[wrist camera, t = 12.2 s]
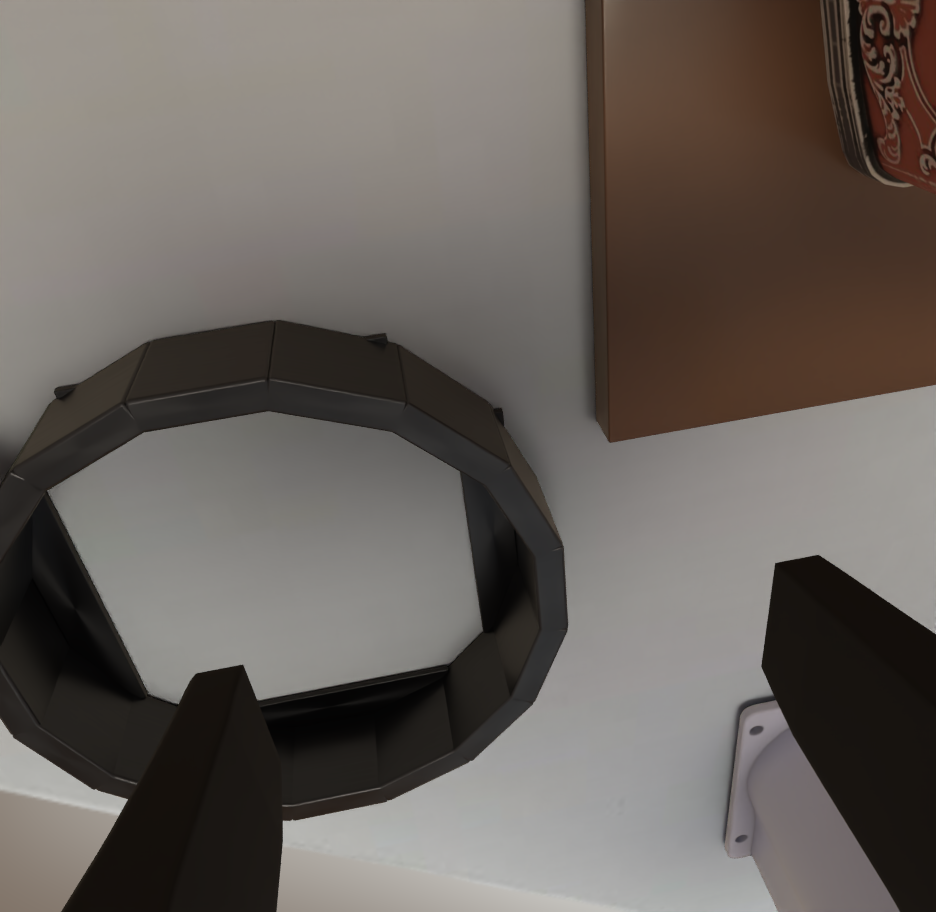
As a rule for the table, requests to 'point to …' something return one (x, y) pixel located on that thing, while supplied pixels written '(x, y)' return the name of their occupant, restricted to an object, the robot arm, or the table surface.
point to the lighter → (884, 86)
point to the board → (740, 224)
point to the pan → (308, 714)
